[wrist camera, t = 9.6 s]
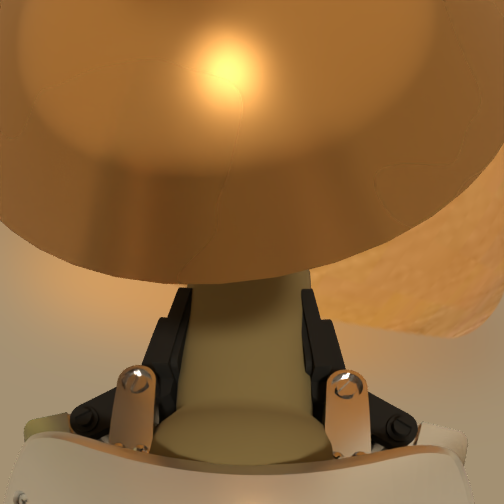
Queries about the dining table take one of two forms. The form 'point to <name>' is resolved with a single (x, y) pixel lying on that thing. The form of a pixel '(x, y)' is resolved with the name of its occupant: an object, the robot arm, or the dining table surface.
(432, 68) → the handle
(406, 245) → the dining table surface
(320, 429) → the cork
